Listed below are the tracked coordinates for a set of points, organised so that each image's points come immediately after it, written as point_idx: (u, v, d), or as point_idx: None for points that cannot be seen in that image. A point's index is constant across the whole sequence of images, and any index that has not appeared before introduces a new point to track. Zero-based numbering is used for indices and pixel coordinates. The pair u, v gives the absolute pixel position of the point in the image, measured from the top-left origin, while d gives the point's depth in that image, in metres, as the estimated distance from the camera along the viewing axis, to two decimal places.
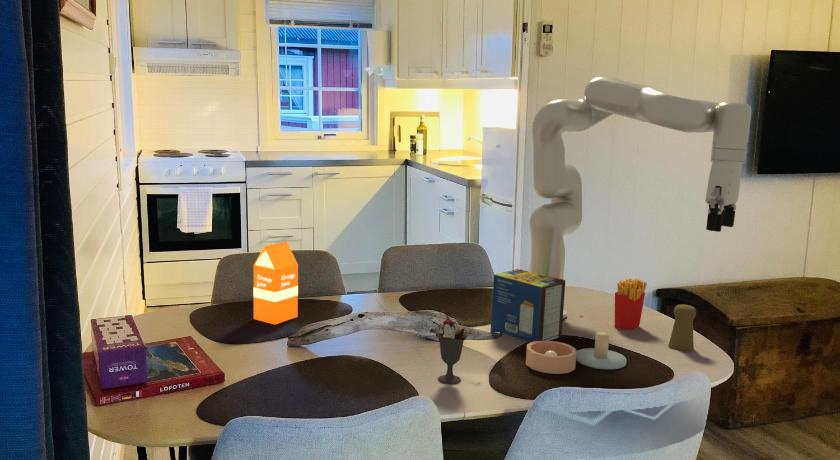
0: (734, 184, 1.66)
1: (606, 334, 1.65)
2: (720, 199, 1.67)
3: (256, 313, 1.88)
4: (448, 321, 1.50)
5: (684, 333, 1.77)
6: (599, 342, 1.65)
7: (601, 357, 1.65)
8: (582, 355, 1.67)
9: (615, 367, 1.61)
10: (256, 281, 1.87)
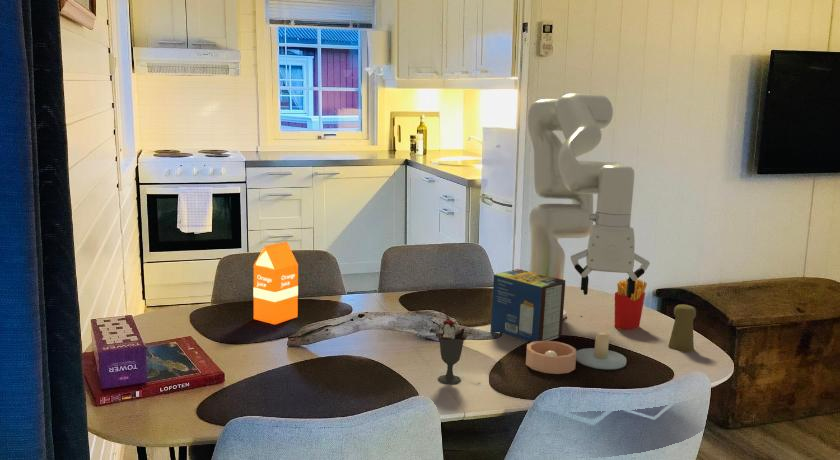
0: None
1: (606, 334, 1.65)
2: None
3: (256, 313, 1.88)
4: (448, 321, 1.50)
5: (684, 333, 1.77)
6: (599, 342, 1.65)
7: (601, 357, 1.65)
8: (582, 355, 1.67)
9: (615, 367, 1.61)
10: (256, 281, 1.87)
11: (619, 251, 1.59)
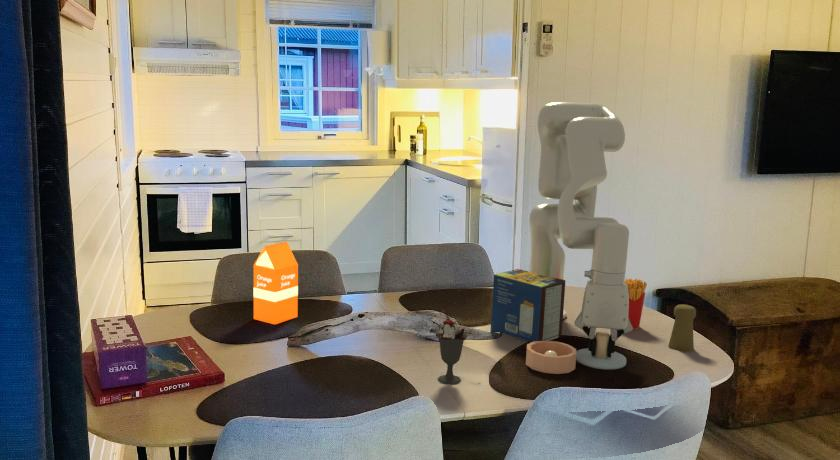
0: None
1: (606, 334, 1.65)
2: None
3: (256, 313, 1.88)
4: (448, 321, 1.50)
5: (684, 333, 1.77)
6: (599, 342, 1.65)
7: (601, 357, 1.65)
8: (582, 355, 1.67)
9: (615, 367, 1.61)
10: (256, 281, 1.87)
11: (613, 308, 1.61)
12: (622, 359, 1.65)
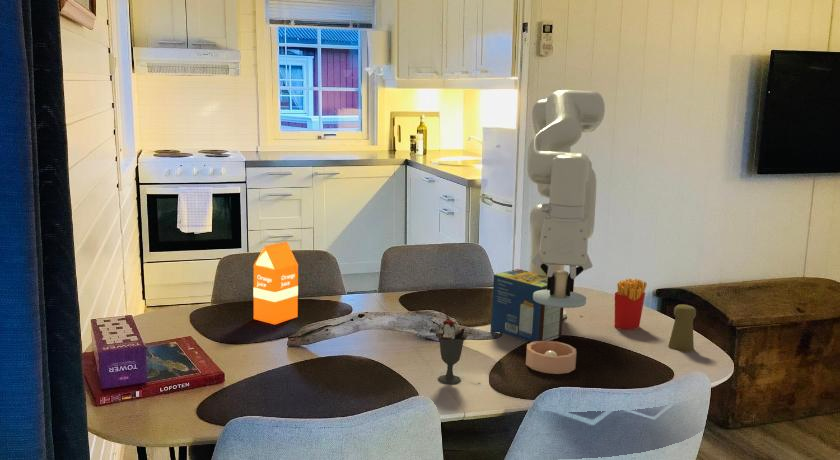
0: None
1: (565, 272, 1.59)
2: None
3: (256, 313, 1.88)
4: (448, 321, 1.50)
5: (684, 333, 1.77)
6: (558, 280, 1.58)
7: (560, 296, 1.58)
8: (540, 295, 1.60)
9: (574, 305, 1.55)
10: (256, 281, 1.87)
11: (572, 244, 1.55)
12: (582, 298, 1.59)
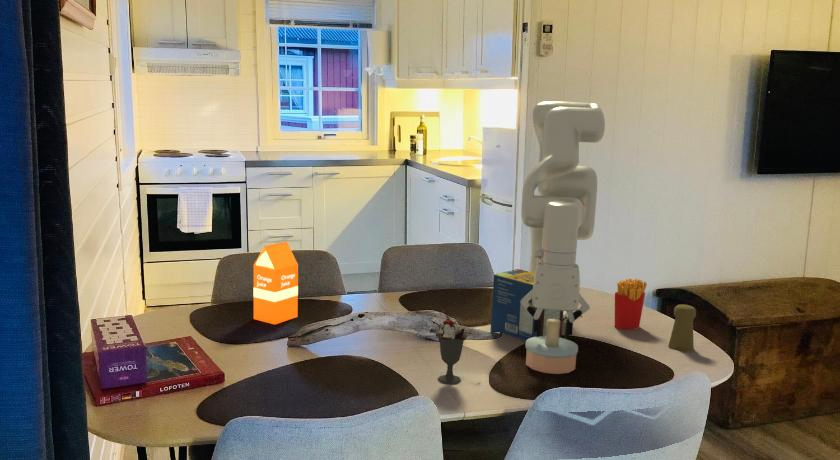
0: None
1: (557, 321, 1.60)
2: None
3: (256, 313, 1.88)
4: (448, 321, 1.50)
5: (684, 333, 1.77)
6: (550, 329, 1.60)
7: (552, 345, 1.60)
8: (533, 343, 1.62)
9: (565, 355, 1.56)
10: (256, 281, 1.87)
11: (564, 289, 1.56)
12: (573, 347, 1.60)
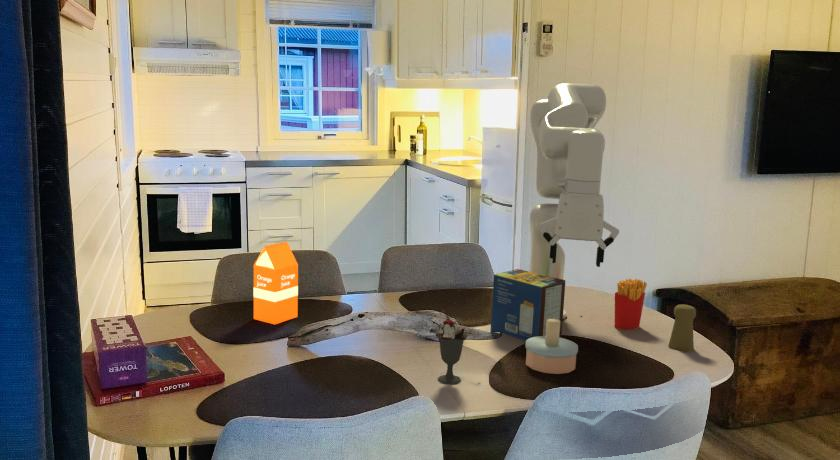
0: None
1: (557, 321, 1.60)
2: None
3: (256, 313, 1.88)
4: (448, 321, 1.50)
5: (684, 333, 1.77)
6: (550, 329, 1.60)
7: (552, 345, 1.60)
8: (533, 343, 1.62)
9: (565, 355, 1.56)
10: (256, 281, 1.87)
11: (587, 219, 1.55)
12: (573, 347, 1.60)
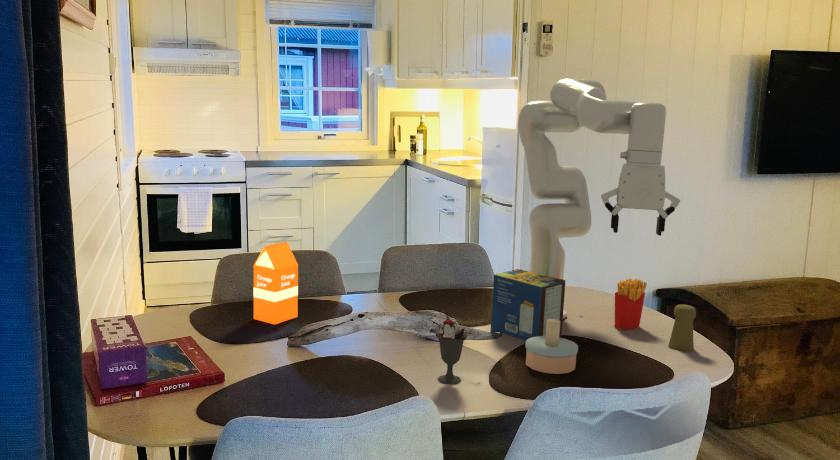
0: None
1: (557, 321, 1.60)
2: None
3: (256, 313, 1.88)
4: (448, 321, 1.50)
5: (684, 333, 1.77)
6: (550, 329, 1.60)
7: (552, 345, 1.60)
8: (533, 343, 1.62)
9: (565, 355, 1.56)
10: (256, 281, 1.87)
11: (650, 188, 1.60)
12: (573, 347, 1.60)
